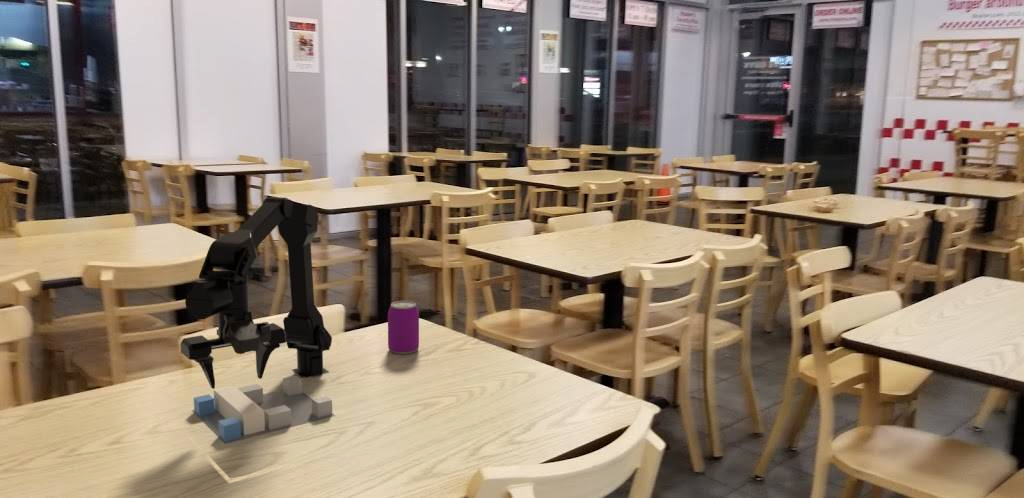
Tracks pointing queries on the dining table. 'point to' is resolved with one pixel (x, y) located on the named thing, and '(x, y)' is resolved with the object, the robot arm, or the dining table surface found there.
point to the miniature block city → (266, 410)
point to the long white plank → (239, 409)
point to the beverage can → (403, 327)
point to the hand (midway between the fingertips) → (236, 383)
